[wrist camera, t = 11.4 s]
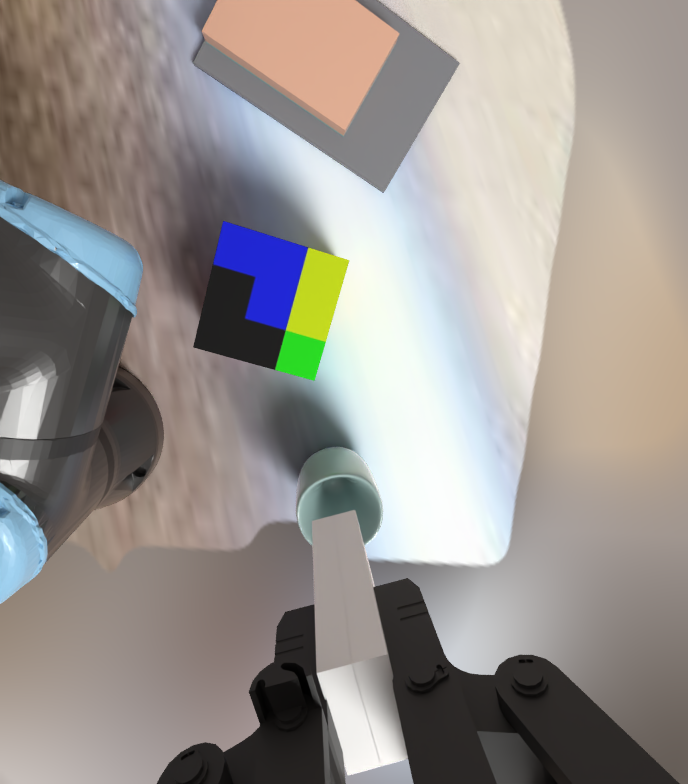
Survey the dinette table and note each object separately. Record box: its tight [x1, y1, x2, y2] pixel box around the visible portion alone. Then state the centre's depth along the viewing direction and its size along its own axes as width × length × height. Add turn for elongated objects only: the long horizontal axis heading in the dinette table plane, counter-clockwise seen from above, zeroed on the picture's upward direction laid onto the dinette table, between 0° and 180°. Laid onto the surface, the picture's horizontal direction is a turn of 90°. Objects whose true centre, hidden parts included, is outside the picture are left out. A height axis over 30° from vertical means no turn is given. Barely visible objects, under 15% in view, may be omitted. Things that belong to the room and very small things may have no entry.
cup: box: [296, 447, 383, 546], centre depth 48 cm, size 8×8×10 cm
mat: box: [193, 0, 460, 193], centre depth 44 cm, size 20×13×1 cm, turn 59°
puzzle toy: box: [193, 221, 349, 381], centre depth 43 cm, size 10×10×10 cm
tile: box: [202, 0, 400, 137], centre depth 42 cm, size 2×9×14 cm
